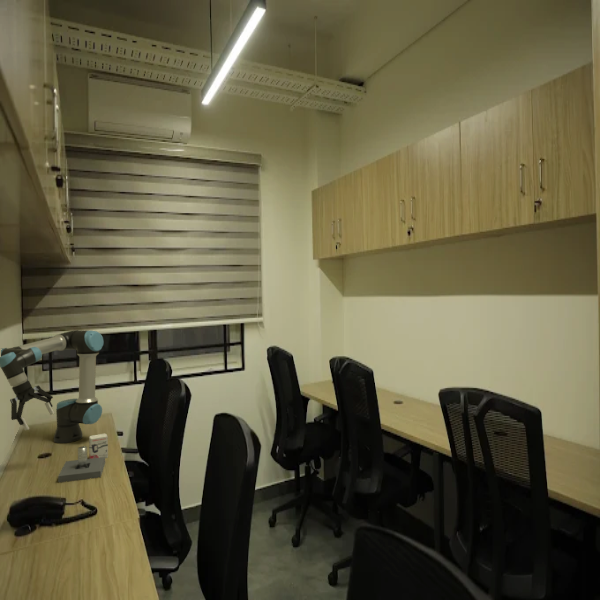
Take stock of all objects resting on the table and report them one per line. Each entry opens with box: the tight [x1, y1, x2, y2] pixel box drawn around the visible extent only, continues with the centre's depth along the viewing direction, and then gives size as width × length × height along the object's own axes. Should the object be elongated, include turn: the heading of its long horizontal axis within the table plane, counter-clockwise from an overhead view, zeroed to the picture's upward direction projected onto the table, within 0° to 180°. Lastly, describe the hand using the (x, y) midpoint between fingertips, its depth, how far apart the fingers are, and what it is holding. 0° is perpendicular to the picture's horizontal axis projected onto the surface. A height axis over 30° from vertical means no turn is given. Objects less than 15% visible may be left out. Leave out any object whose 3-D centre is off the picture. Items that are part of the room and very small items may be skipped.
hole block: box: [57, 457, 106, 483], centre depth 213 cm, size 18×18×3 cm
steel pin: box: [77, 445, 88, 469], centre depth 213 cm, size 4×4×12 cm
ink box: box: [88, 433, 109, 459], centre depth 231 cm, size 8×5×12 cm, turn 123°
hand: (40, 421), depth 215 cm, fingers open, 13 cm apart
